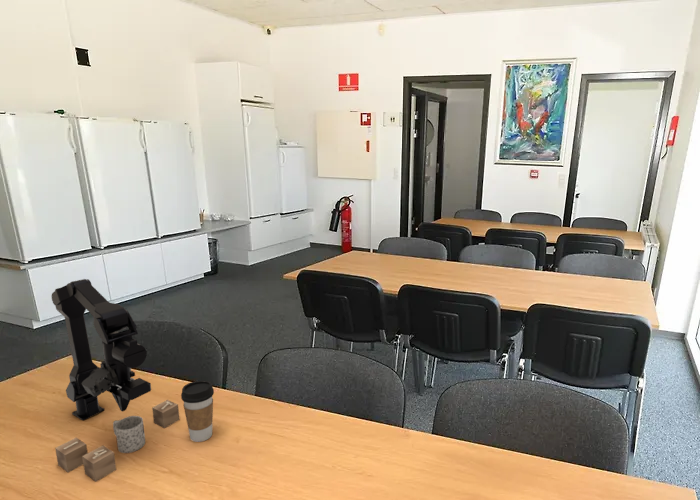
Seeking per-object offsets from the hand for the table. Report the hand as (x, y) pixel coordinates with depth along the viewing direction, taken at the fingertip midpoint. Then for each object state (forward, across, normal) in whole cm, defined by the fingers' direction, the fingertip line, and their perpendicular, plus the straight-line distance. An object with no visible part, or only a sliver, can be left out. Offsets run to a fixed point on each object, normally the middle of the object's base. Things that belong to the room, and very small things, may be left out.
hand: (123, 410), depth 119 cm
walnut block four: (+10, +5, -10) cm, 15 cm away
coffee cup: (+10, +14, +13) cm, 22 cm away
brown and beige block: (+10, 0, +12) cm, 15 cm away
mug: (+10, 0, 0) cm, 10 cm away
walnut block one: (+10, -4, -12) cm, 16 cm away
